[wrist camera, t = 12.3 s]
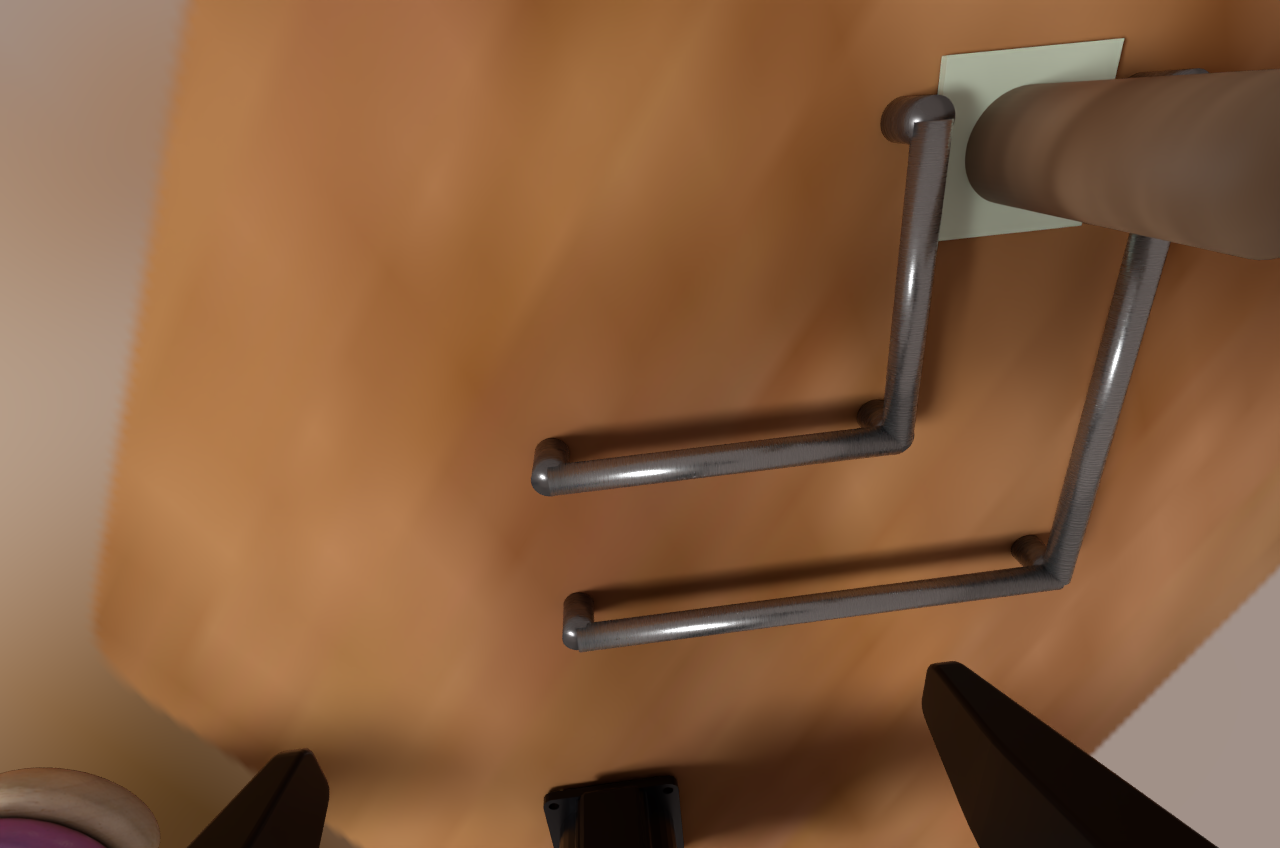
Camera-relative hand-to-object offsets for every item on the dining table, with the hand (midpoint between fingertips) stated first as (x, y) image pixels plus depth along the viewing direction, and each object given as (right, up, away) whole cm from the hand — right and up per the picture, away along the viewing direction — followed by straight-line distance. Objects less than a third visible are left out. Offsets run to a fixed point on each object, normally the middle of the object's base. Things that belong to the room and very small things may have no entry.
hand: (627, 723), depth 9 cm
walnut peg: (+11, +13, +9) cm, 19 cm away
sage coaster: (+11, +13, +9) cm, 19 cm away
